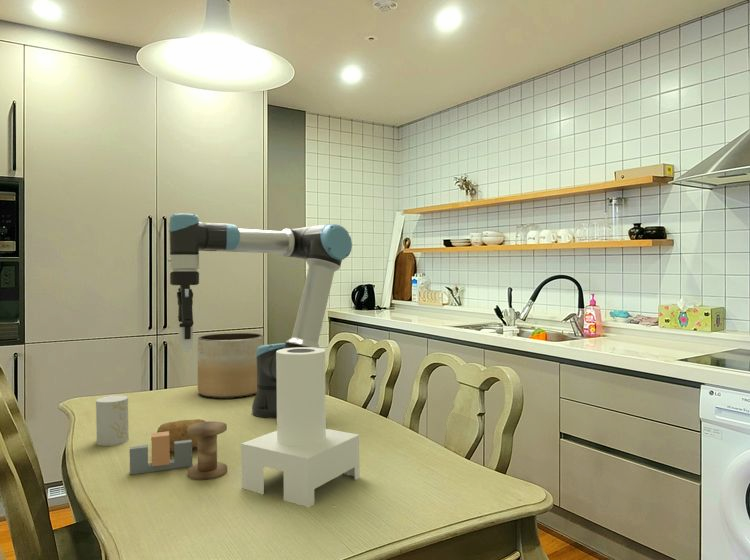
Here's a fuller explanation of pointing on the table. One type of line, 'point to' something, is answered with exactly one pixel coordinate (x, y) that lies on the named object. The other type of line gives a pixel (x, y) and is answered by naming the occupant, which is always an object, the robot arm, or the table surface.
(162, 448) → the orange brown tapered block
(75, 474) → the table surface
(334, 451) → the paper towel holder
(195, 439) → the potato
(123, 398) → the cup
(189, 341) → the robot arm
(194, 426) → the bobbin
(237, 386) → the planter
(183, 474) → the table surface
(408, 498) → the table surface
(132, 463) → the gray board
